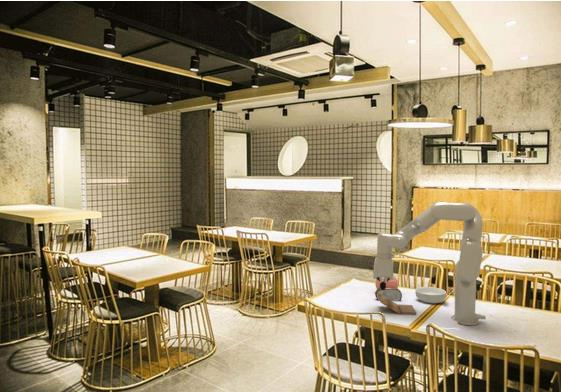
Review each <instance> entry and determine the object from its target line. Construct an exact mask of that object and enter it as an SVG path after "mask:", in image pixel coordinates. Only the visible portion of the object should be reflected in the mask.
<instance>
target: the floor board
mask: <svg viewBox="0 0 561 392" xmlns="http://www.w3.org/2000/svg"><path fill="white" fill-rule="evenodd" d="M398 306H399V308H400V310H401V313H400V314H399V315H405V316H407V315H408V316H417V311H416V309H415V308H414V306H413V305H412V304H400V303H399V304H398Z"/></svg>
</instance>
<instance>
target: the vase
mask: <svg viewBox="0 0 561 392" xmlns="http://www.w3.org/2000/svg"><path fill="white" fill-rule="evenodd" d="M393 278H394V279H393V280H389V281H388V282H387V283H386V287H388V288H398V289H399V282H398V279H397V277H396V276H395V275H394V274H393ZM382 281H384V277H382ZM374 285H375V289H376V290H377V289H378V288H380V282H379V281H378V280H377V279H375V284H374Z"/></svg>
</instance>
